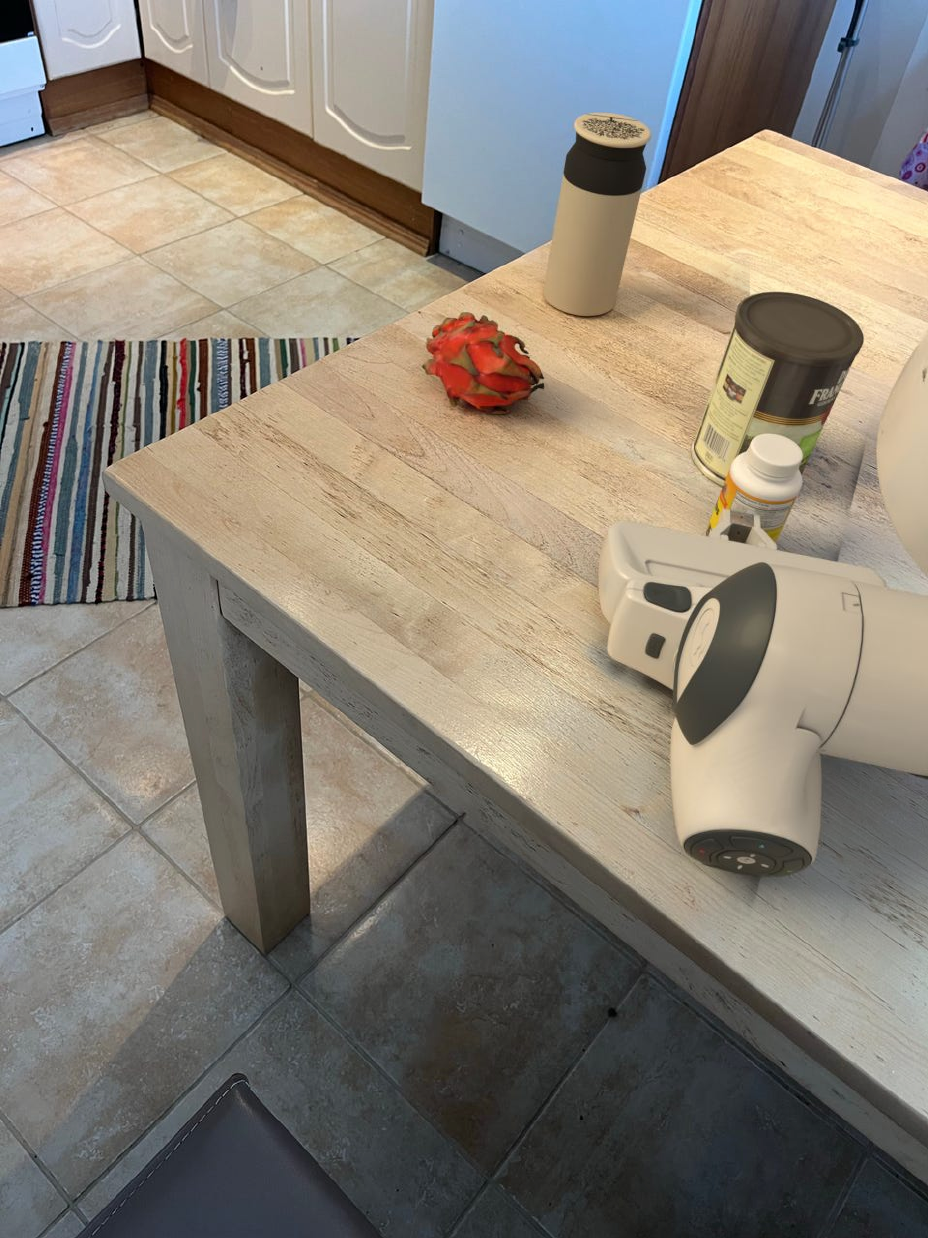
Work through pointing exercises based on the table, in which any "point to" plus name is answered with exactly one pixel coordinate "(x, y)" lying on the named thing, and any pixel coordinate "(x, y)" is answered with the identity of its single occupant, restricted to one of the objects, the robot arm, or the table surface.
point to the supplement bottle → (763, 483)
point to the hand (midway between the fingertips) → (738, 518)
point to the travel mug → (596, 213)
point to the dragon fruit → (481, 364)
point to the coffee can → (775, 377)
